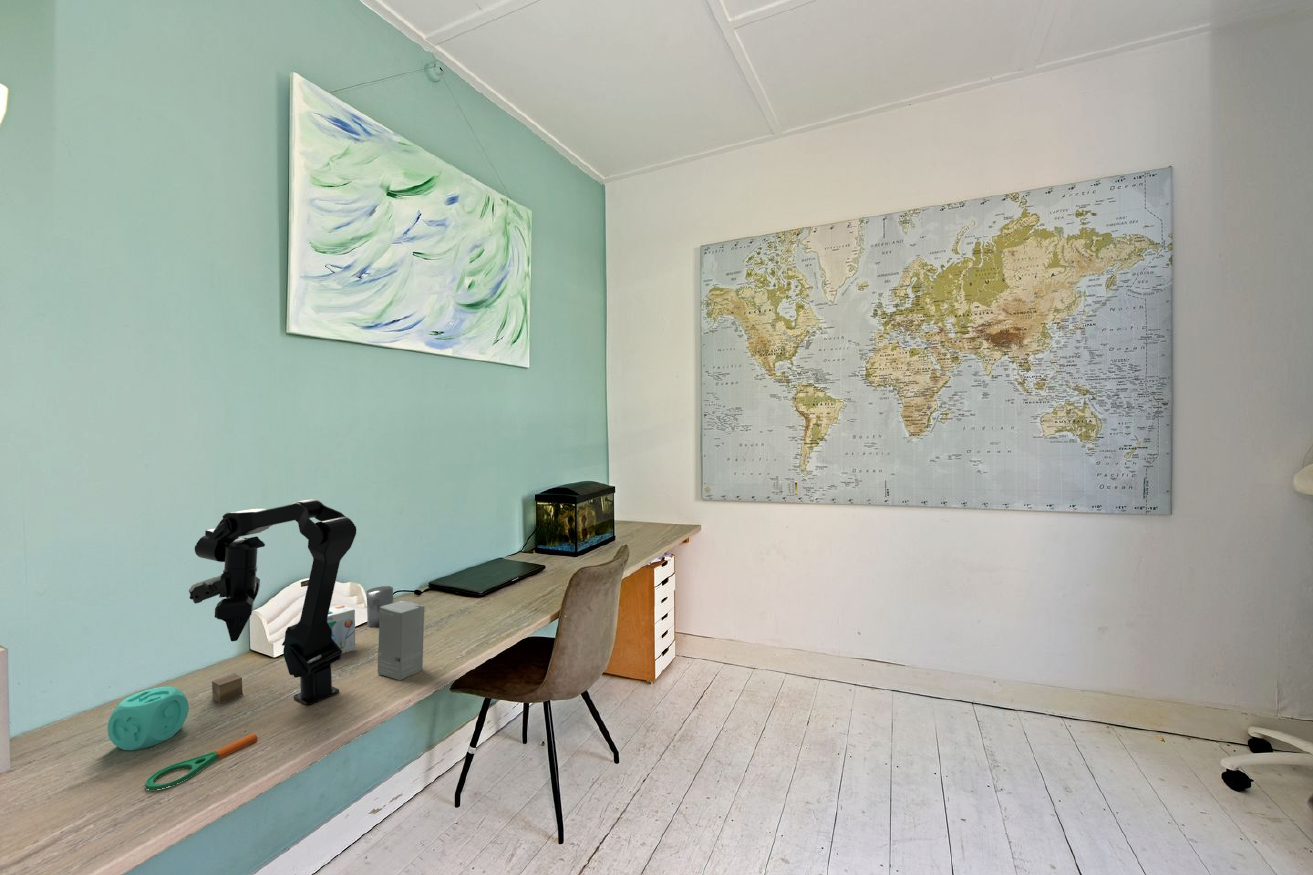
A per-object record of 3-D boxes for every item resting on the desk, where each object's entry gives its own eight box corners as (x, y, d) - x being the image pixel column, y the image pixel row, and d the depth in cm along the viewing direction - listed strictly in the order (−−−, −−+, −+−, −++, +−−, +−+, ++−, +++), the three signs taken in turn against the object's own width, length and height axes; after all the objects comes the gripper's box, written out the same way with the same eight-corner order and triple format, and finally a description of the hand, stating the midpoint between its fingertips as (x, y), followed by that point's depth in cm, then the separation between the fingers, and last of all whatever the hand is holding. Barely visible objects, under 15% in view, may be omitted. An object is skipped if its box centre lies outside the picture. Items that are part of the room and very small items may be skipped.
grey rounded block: (398, 621, 158) (397, 588, 158) (376, 628, 152) (374, 594, 152) (385, 617, 161) (384, 584, 161) (362, 624, 155) (361, 591, 155)
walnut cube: (242, 695, 115) (241, 677, 115) (220, 703, 111) (219, 685, 111) (234, 690, 117) (234, 673, 117) (212, 699, 113) (211, 680, 113)
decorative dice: (151, 726, 103) (149, 685, 103) (190, 726, 103) (188, 685, 103) (107, 751, 95) (105, 707, 95) (149, 751, 95) (147, 707, 95)
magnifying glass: (153, 798, 83) (153, 787, 83) (139, 786, 86) (138, 776, 86) (263, 746, 96) (263, 737, 96) (247, 737, 99) (247, 728, 99)
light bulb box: (311, 664, 129) (309, 620, 129) (300, 657, 133) (299, 615, 133) (357, 649, 138) (355, 608, 138) (346, 643, 142) (344, 603, 142)
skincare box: (376, 674, 123) (374, 607, 123) (404, 662, 129) (402, 598, 129) (400, 681, 119) (398, 612, 119) (427, 668, 125) (425, 603, 125)
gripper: (202, 556, 122) (198, 621, 123) (184, 582, 106) (180, 656, 107) (261, 552, 128) (258, 615, 129) (253, 576, 112) (249, 647, 113)
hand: (237, 632), depth 119 cm, fingers open, 9 cm apart
